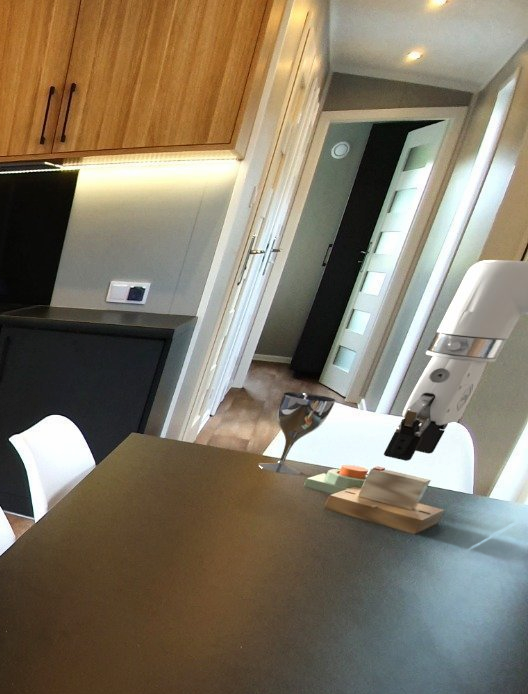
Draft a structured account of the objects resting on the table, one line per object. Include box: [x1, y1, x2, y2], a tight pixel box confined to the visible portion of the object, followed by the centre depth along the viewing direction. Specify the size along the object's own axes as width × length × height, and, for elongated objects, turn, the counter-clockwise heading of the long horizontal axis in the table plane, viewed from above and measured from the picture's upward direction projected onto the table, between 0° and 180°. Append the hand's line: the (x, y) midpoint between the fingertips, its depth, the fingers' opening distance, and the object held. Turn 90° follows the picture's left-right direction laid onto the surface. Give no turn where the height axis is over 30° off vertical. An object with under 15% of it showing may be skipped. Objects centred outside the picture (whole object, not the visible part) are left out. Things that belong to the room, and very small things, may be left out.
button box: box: [303, 468, 368, 495], centre depth 118 cm, size 10×7×4 cm
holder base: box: [323, 487, 445, 535], centre depth 108 cm, size 12×11×3 cm
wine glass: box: [257, 391, 337, 475], centre depth 128 cm, size 8×8×15 cm
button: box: [339, 464, 369, 479], centre depth 118 cm, size 4×4×2 cm
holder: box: [358, 466, 432, 510], centre depth 107 cm, size 7×2×5 cm, turn 29°
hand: (407, 454), depth 104 cm, fingers open, 9 cm apart
